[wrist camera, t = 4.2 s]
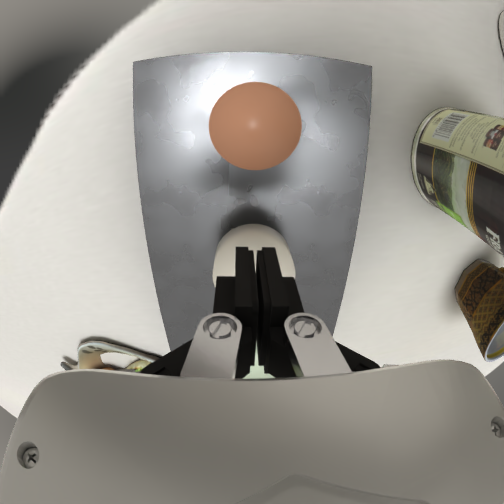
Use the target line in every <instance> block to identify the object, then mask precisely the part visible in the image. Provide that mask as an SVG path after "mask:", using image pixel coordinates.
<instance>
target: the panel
mask: <svg viewBox="0 0 504 504" xmlns="http://www.w3.org/2000/svg"><path fill="white" fill-rule="evenodd" d="M247 82H264V83H268V84H271V85H274V86H276V87H278V88H280V89H281V90H283V91H284V92H286V93H287V94H288V95H289V96H290V97H291V98H292V100H293V101H294V102H295V104H296V105H297V108H298V110H299V113H300V116H301V121H302V130H301V136H300V140H299V142H298V145H297V146H296V148H295V150H294V151H293V152H292V154H291V155H290V156H289V157H288V158H287V159H286V160H284V161H283V162H281V163H280V164H278V165H276V166H274V167H271V168H268V169H263V170H247V169H242V168H239V167H237V166H234V165H232V164H231V163H229V162H227V161H226V160H225V159H224V158H223V157H222V156H221V155H220V154H219V153H218V152H217V150H216V149H215V147H214V145H213V144H212V141H211V138H210V134H209V118H210V114H211V111H212V109H213V107H214V105H215V103H216V102H217V100H218V99H219V98H220V97H221V96H222V95H223V94H224V93H225V92H226V91H227V90H229V89H231V88H232V87H234V86H237V85H239V84H242V83H247ZM371 89H372V66H368V65H363V64H359V63H354V62H348V61H343V60H337V59H331V58H324V57H316V56H308V55H299V54H287V53H272V52H212V53H196V54H185V55H175V56H167V57H160V58H153V59H147V60H141V61H136V62H133V109H134V132H135V147H136V160H137V171H138V181H139V190H140V198H141V206H142V213H143V220H144V227H145V234H146V240H147V246H148V252H149V257H150V263H151V268H152V273H153V278H154V283H155V288H156V293H157V297H158V302H159V306H160V311H161V315H162V319H163V323H164V327H165V331H166V335H167V339H168V343H169V346H170V350H171V351H173V350H175V349H176V348H178V347H180V346H181V345H183V344H185V343H186V342H188V341H190V340H191V339H193V338H194V335H195V333H196V330H197V327H198V325H199V323H200V321H201V320H202V319H203V318H204V317H206V316H208V315H210V314H213V306H214V296H215V286H214V283H213V267H214V260H215V254H216V249H217V246H218V244H219V242H220V240H221V239H222V238H223V236H224V235H225V234H227V233H228V232H229V231H230V230H231V228H236V227H238V226H241V225H245V224H261V225H265V226H268V227H271V228H273V229H274V230H276V231H277V232H279V233H280V234H281V235H282V236H283V238H284V239H285V241H286V242H287V244H288V247H289V250H290V253H291V257H292V260H293V263H294V266H295V282H296V285H297V289H298V292H299V295H300V299H301V302H302V305H303V309H304V312H305V313H309V314H313V315H315V316H317V317H319V318H320V319H322V321H323V322H324V323H325V325H326V327H327V328H328V330H329V332H330V334H331V335H332V336H333V333H334V329H335V325H336V321H337V317H338V314H339V310H340V306H341V302H342V297H343V293H344V289H345V285H346V280H347V276H348V271H349V266H350V261H351V256H352V251H353V246H354V241H355V235H356V230H357V224H358V218H359V212H360V205H361V199H362V192H363V184H364V176H365V168H366V159H367V149H368V139H369V126H370V111H371Z"/></svg>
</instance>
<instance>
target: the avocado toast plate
mask: <svg viewBox="0 0 504 504" xmlns="http://www.w3.org/2000/svg"><path fill="white" fill-rule="evenodd" d="M107 352H109V353H110V352H117V353H123V354H127V355H131V356H134V357H137V358H140V361H136V362H134V363H132V364H131V365H130V366H129V367H126V368H115V367H113V366H112V365H105V364H103V362H102V360H101V357H100V354H103V353H107ZM157 359H159V357H156V356H152V355H148V354H145V353H142V352H139V351H136V350H133V349H129V348H126V347H122V346H118V345H114V344H110V343H107V342H103V341H87V342H84V343H81V344H79V347H78V364H77V365H72V364H68V363H66V362H61V366H62V367H63V368H64V369H65V370H66V371H67V370H73V369H104V370H122V369H134V370H135V372H138V371H142V369H143V368H145V367H146V366H147V365H149V364H150V363H152V362H154V361H156V360H157Z"/></svg>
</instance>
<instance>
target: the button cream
mask: <svg viewBox="0 0 504 504" xmlns="http://www.w3.org/2000/svg"><path fill="white" fill-rule="evenodd" d="M236 247H248V250H253V252H254V262H255V272H256V258H257V250H262V247H275V249H276V253H277V257H278V261H279V265H280V269H281V273H282V277H294V279H295V266H294V263H293V260H292V257H291V253H290V250H289V247H288V244H287V242H286V241H285V239H284V238H283V236H282V235H281V234H280V233H279V232H277V231H276V230H274V229H273V228H271V227H268V226H265V225H261V224H245V225H241V226H238V227H236V228H234V229H232V230H230V231H229V232H228V233H227V234H225V235H224V236H223V238H222V239H221V240H220V242H219V244H218V246H217V249H216V254H215V260H214V267H213V283H214V286H215V287H216V278H217V276H235V252H236Z"/></svg>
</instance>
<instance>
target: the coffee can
mask: <svg viewBox="0 0 504 504" xmlns="http://www.w3.org/2000/svg"><path fill="white" fill-rule="evenodd" d="M412 172H413V177H414V181H415V184H416V186H417V188H418V190H419V192H420V193H421V195H422V196H423V197H424V199H425V200H426V201H427V202H429V203H430V204H431V205H433V206H435V207H437V208H439V209H440V210H442V211H444V212H445V213H447V214H448V215H450V216H451V217H452V218H454V219H455V220H457V221H458V222H459V223H461V224H462V225H464V226H465V227H466V228H468V229H469V230H470V231H472V232H473V233H474V234H476V235H477V236H478V237H479V238H481V239H482V240H483V241H484V242H486V243H487V244H488V245H490V246H491V247H492V248H493V249H495V250H496V251H497V252H498V253H500V254H501V255H502V256H503V257H504V118H501V117H497V116H491V115H486V114H481V113H476V112H470V111H464V110H458V109H455V108H451V107H445V108H440V109H437V110H435V111H433V112H432V113H431V114H429V115H428V116H427V117H426V118H425V119H424V121H423V122H422V124H421V125H420V127H419V129H418V131H417V133H416V136H415V139H414V143H413V148H412Z"/></svg>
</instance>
